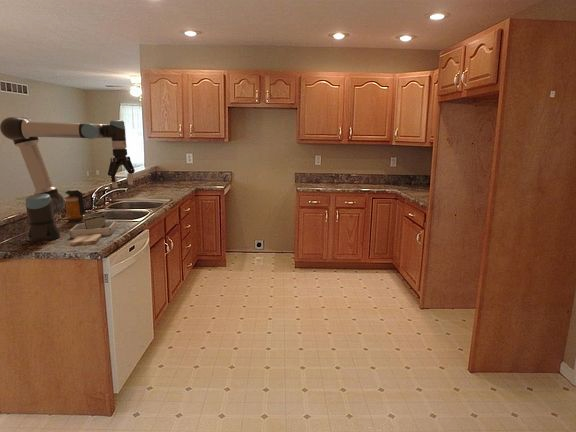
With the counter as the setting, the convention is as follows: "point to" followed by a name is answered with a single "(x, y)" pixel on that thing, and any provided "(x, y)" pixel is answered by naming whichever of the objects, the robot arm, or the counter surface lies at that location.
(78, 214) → the canister
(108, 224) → the bin
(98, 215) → the food container
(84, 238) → the board
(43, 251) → the counter surface
